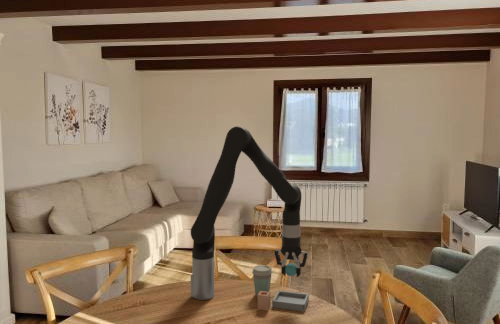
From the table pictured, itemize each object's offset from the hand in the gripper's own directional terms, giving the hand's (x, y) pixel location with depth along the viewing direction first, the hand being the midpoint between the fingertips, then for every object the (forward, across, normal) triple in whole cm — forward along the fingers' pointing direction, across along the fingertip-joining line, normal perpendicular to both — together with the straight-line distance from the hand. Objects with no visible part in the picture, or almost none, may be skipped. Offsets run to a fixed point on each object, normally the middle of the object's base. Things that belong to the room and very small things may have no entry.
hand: (291, 275), depth 165 cm
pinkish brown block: (+12, -10, -7) cm, 17 cm away
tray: (+12, 0, 0) cm, 12 cm away
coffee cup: (+12, -14, +5) cm, 19 cm away
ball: (0, 0, 0) cm, 0 cm away
